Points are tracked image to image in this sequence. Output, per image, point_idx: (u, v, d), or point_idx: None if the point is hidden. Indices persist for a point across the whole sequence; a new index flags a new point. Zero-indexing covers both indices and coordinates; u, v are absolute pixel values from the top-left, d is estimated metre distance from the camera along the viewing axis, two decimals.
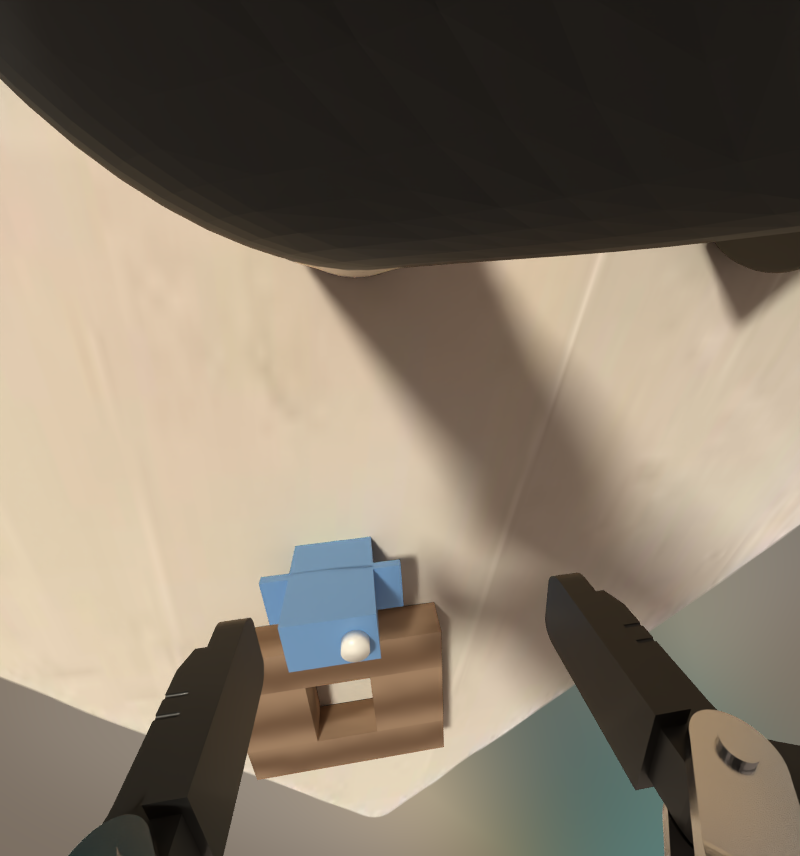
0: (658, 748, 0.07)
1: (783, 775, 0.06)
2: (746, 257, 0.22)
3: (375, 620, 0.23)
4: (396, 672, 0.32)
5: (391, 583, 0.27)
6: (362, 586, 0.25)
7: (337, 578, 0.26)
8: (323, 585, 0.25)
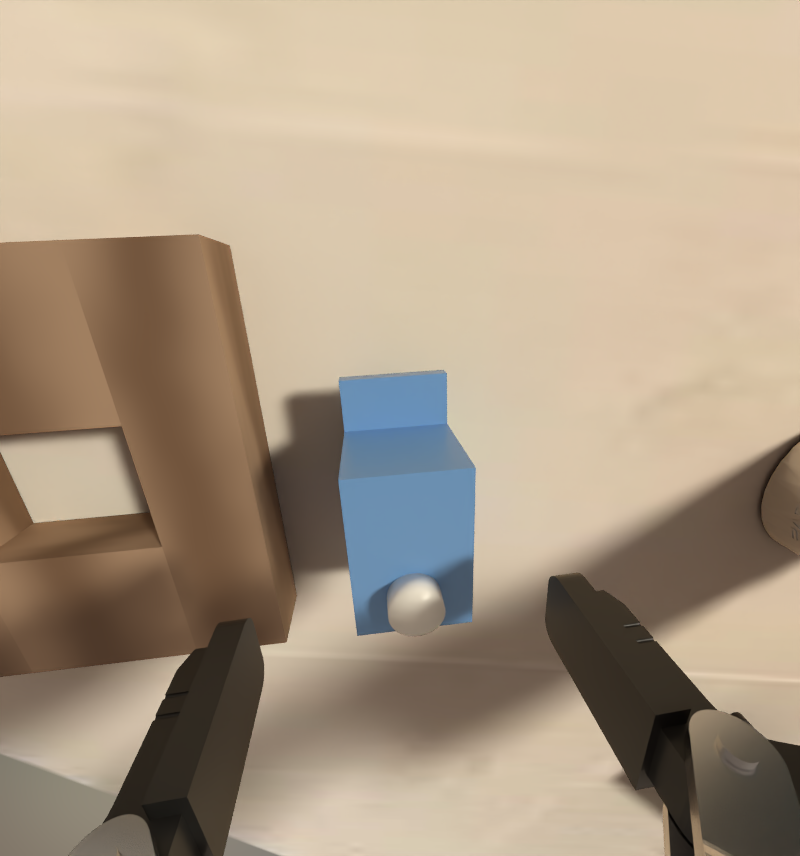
0: (658, 748, 0.07)
1: (783, 775, 0.06)
2: None
3: (457, 621, 0.13)
4: (178, 588, 0.16)
5: None
6: None
7: None
8: None
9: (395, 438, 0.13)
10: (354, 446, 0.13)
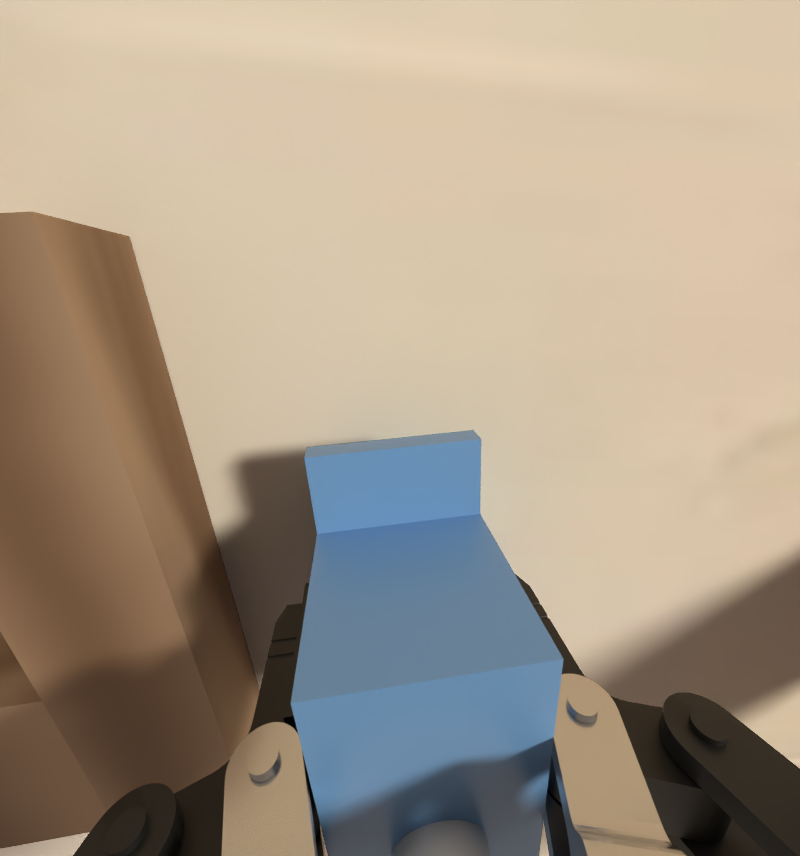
0: None
1: (616, 727, 0.06)
2: None
3: None
4: (75, 751, 0.11)
5: None
6: None
7: None
8: None
9: (400, 554, 0.08)
10: (330, 577, 0.07)
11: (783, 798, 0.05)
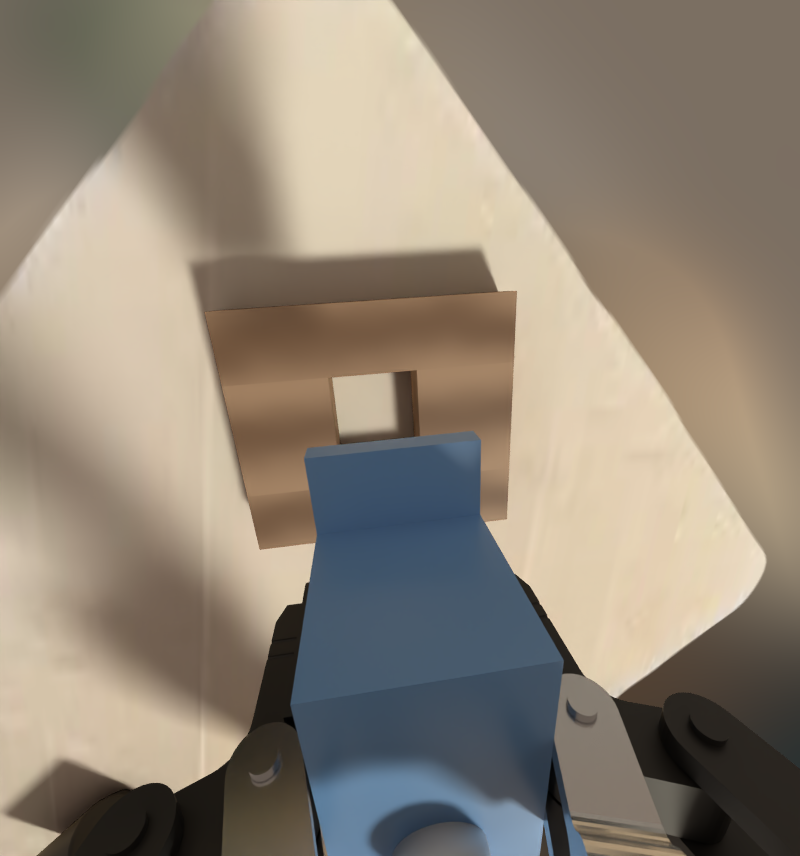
0: None
1: (615, 727, 0.06)
2: (101, 813, 0.34)
3: None
4: (308, 491, 0.25)
5: None
6: None
7: None
8: None
9: (400, 555, 0.08)
10: (330, 578, 0.07)
11: (783, 798, 0.05)
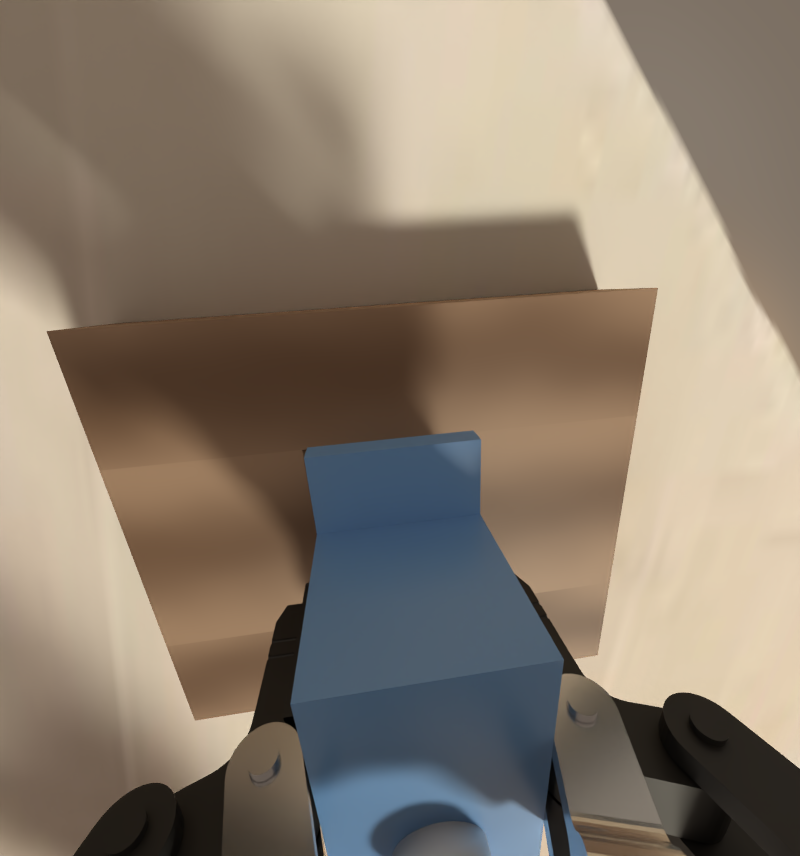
0: None
1: (615, 726, 0.06)
2: None
3: None
4: None
5: None
6: None
7: None
8: None
9: (400, 554, 0.08)
10: (329, 578, 0.07)
11: (783, 798, 0.05)
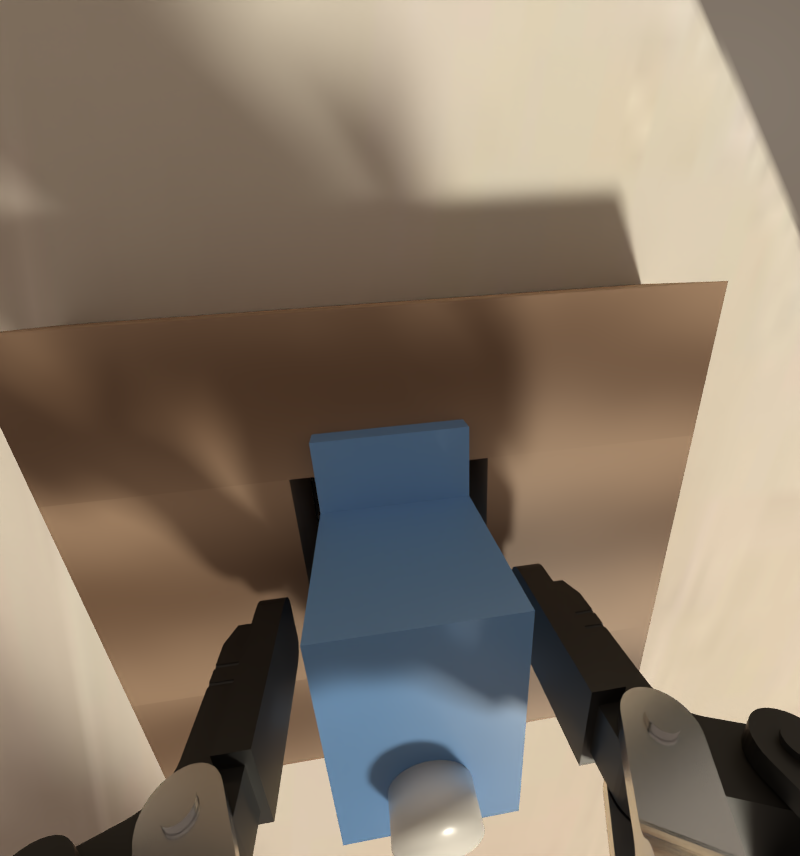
0: (596, 724, 0.07)
1: (701, 745, 0.06)
2: None
3: (496, 812, 0.08)
4: None
5: None
6: None
7: None
8: None
9: (395, 529, 0.09)
10: (332, 549, 0.08)
11: None
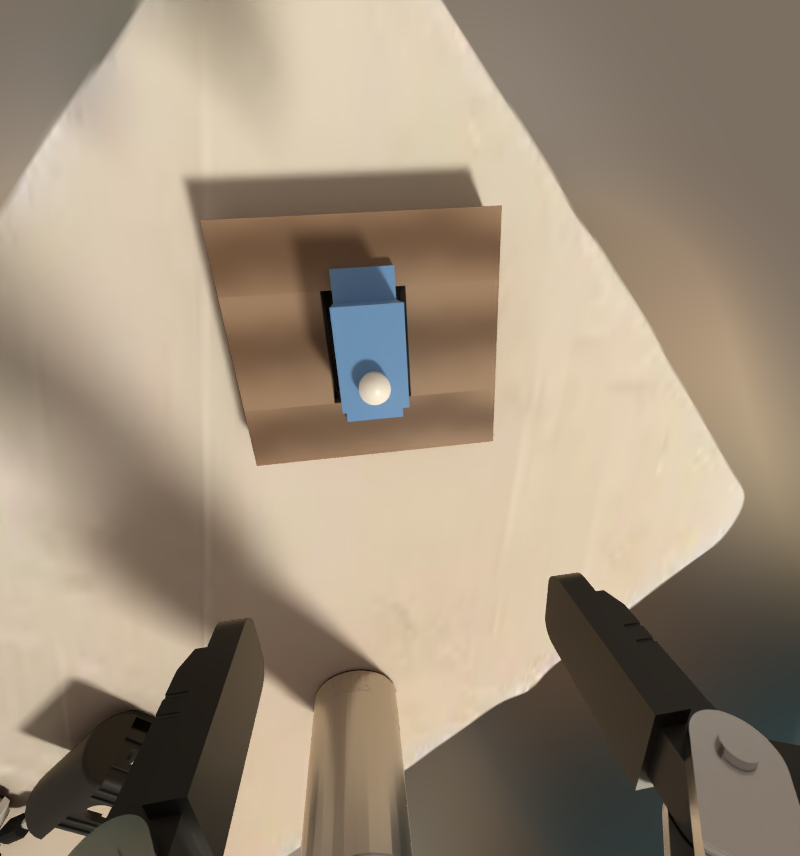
0: (658, 748, 0.07)
1: (783, 775, 0.06)
2: (112, 727, 0.36)
3: (400, 406, 0.22)
4: (302, 407, 0.26)
5: None
6: None
7: None
8: None
9: (363, 302, 0.22)
10: (338, 304, 0.22)
11: None
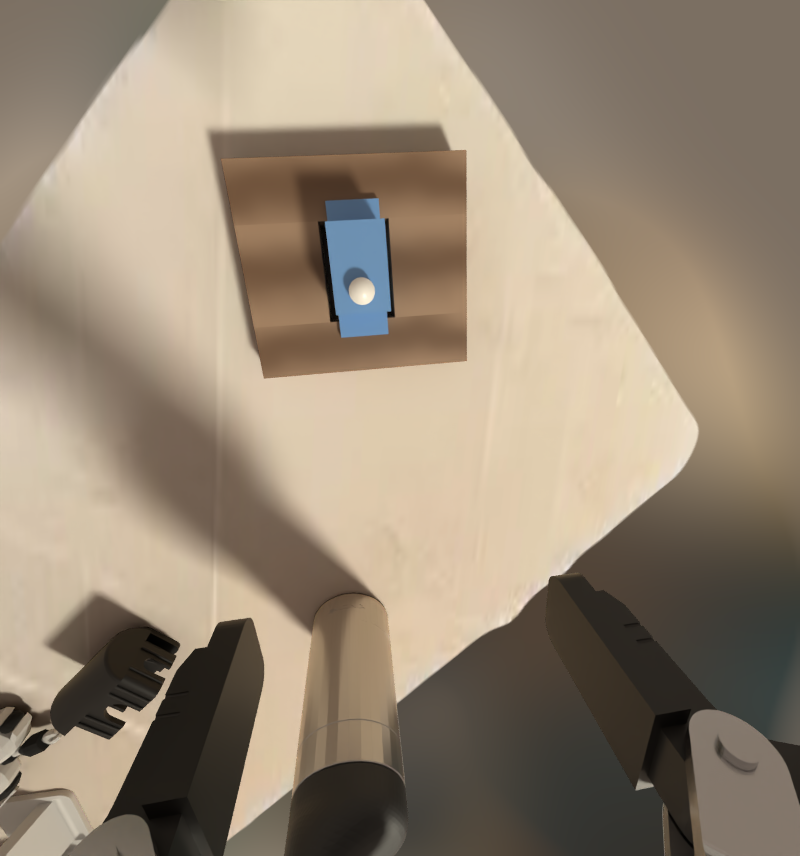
0: (658, 748, 0.07)
1: (783, 775, 0.06)
2: (130, 636, 0.40)
3: (383, 310, 0.27)
4: (303, 325, 0.31)
5: (368, 326, 0.31)
6: None
7: None
8: None
9: None
10: None
11: None
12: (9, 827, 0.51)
